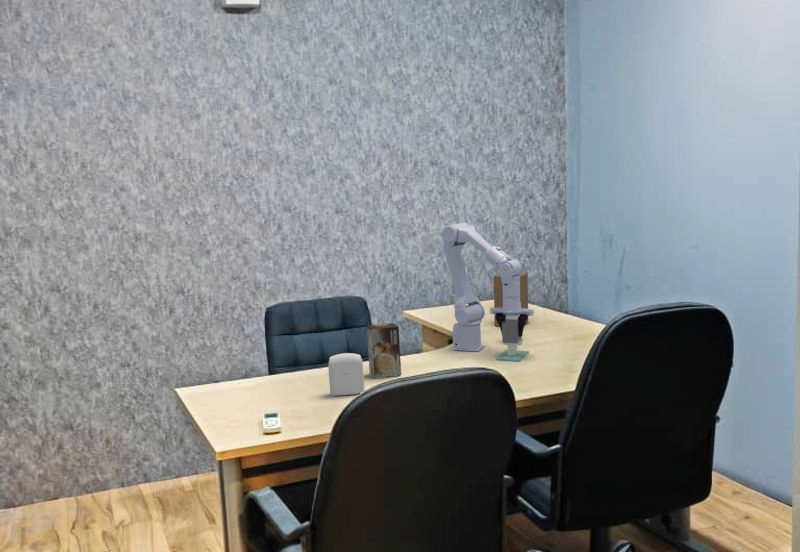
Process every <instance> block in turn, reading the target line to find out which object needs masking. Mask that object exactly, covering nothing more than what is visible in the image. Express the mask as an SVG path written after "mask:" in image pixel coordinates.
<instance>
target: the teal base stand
mask: <svg viewBox="0 0 800 552" xmlns="http://www.w3.org/2000/svg"><path fill="white" fill-rule="evenodd" d="M529 352H530V351H529V350H519V349H518V344H517V343H508V344H507V349H505V350H504V351H503V352H501V353H500V354H499V355H498V356H497V357H496V358H495V360H496V361H500V362H501V361H502V362H503V361H504V362H516V363H517V362H518V363H519V362H522V360H523V359H524V358H525V357H526V356H528V354H529Z"/></svg>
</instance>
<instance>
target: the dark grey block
mask: <svg viewBox="0 0 800 552" xmlns="http://www.w3.org/2000/svg"><path fill="white" fill-rule="evenodd" d="M501 337H502V339H501V340H502V343H503V344H505V343H519V342H520V341H521V340H522V341H523V336H522V337H519V323H518V320H516V319H506V320H505V321H503V322H502V333H501Z"/></svg>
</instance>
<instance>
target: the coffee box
mask: <svg viewBox="0 0 800 552" xmlns="http://www.w3.org/2000/svg"><path fill="white" fill-rule="evenodd" d="M366 331H367V332H366V333H367V334H366V335H367V336H366V337H367V349H368V351H367V352H368V353H367V354H368V371H369V375H370V374H371V375H370V376H371V377H372V376H373V377H374V378H377V379H379V378H378V377H385V376H393V377H396V376H395V375H401V376H402V361H401V346H400V328H399V326H398V325H397V324H395V323H393V322H391V323H383V324H382V323H381V324H372V325H366ZM373 377H372V378H373ZM374 378H373V379H374ZM385 378H386V377H385Z"/></svg>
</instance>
